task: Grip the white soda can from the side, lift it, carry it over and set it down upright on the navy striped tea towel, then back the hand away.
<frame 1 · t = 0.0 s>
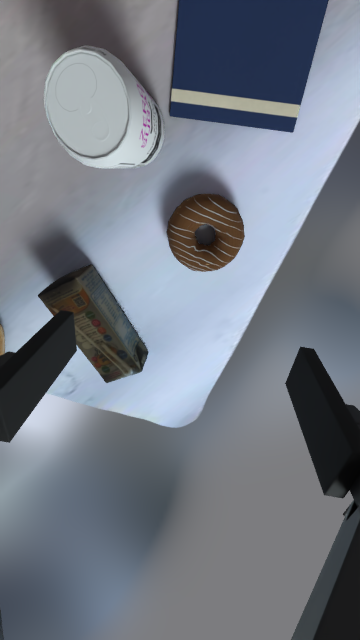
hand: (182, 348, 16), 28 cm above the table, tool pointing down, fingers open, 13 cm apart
white soda can: (133, 131, 35), on the table
beverage carton: (105, 317, 49), on the table
tea towel: (251, 7, 29), on the table
donut: (205, 231, 40), on the table
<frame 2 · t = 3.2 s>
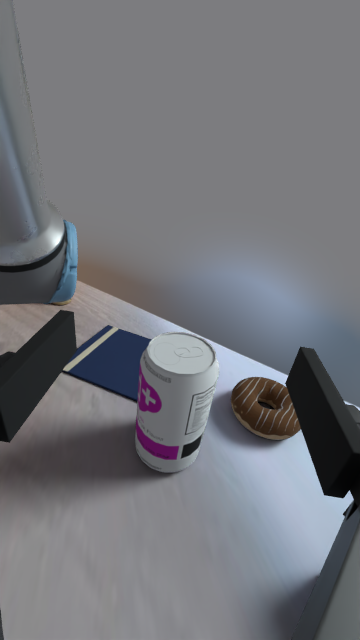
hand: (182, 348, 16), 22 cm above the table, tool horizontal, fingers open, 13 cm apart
white soda can: (167, 445, 35), on the table
tea towel: (132, 362, 48), on the table
donut: (262, 415, 42), on the table
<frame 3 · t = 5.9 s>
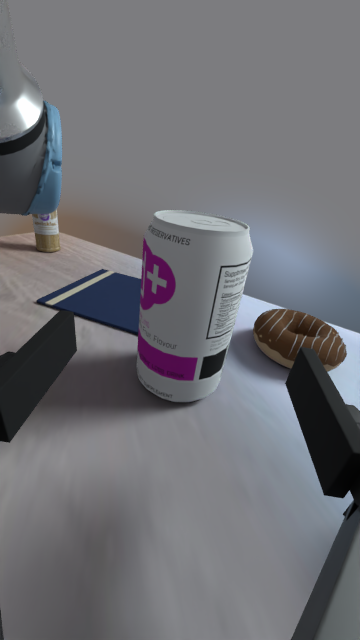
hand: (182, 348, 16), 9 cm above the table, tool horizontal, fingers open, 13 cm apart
white soda can: (177, 377, 28), on the table
sprinkles bottle: (49, 250, 56), on the table
tea towel: (131, 300, 40), on the table
donut: (291, 352, 34), on the table
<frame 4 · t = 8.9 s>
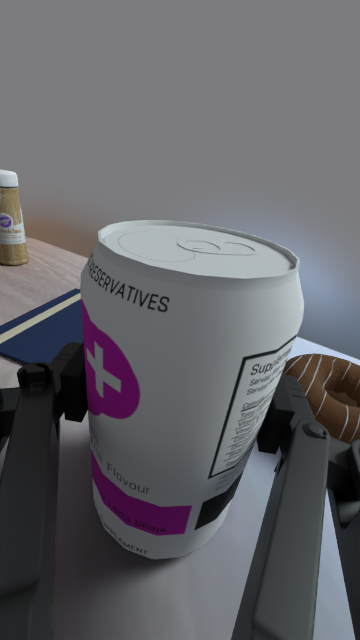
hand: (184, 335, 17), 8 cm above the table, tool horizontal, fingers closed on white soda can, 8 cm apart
white soda can: (162, 484, 17), on the table, touching gripper
sprinkles bottle: (14, 262, 46), on the table
tea towel: (106, 336, 30), on the table
donut: (330, 419, 24), on the table
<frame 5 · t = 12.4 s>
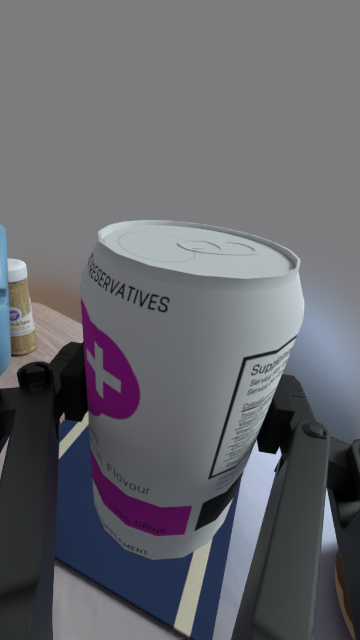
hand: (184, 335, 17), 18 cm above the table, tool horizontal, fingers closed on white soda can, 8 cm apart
white soda can: (162, 484, 17), point 10 cm above the table, touching gripper
sprinkles bottle: (22, 348, 42), on the table
tea towel: (130, 481, 27), on the table
when the fingers open (8 cm above the table, at t = 16.3 s): white soda can stays where it is, resting on tea towel.
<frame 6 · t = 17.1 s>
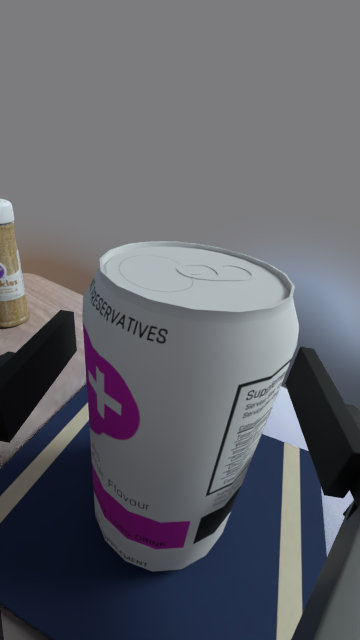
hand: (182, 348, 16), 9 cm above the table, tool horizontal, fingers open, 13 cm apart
white soda can: (162, 494, 18), resting on tea towel
sprinkles bottle: (9, 320, 33), on the table
tea towel: (161, 494, 18), on the table
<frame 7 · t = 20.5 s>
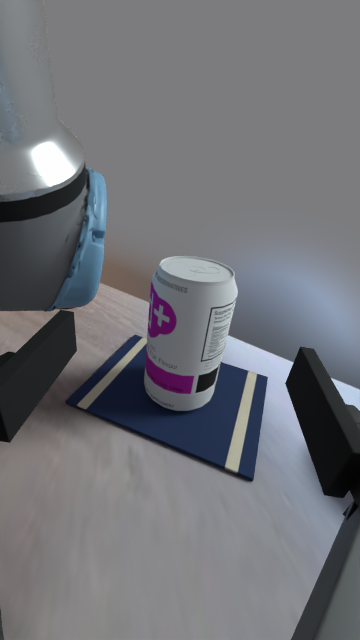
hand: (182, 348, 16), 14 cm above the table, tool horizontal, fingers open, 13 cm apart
white soda can: (178, 389, 33), resting on tea towel
tea towel: (177, 389, 33), on the table
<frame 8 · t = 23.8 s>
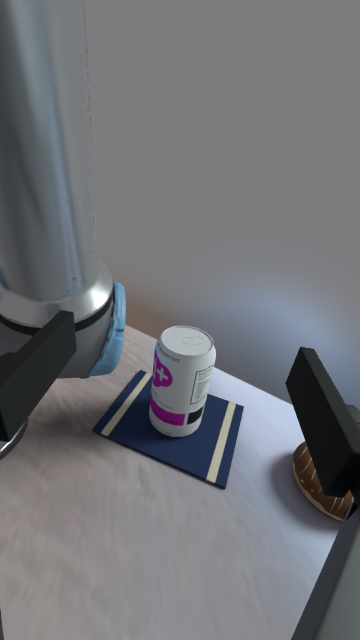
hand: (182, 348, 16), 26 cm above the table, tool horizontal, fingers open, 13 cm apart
white soda can: (174, 418, 44), resting on tea towel
tea towel: (174, 418, 44), on the table
donut: (327, 485, 37), on the table
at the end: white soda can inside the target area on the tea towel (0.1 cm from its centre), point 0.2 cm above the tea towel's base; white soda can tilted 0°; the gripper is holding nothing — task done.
